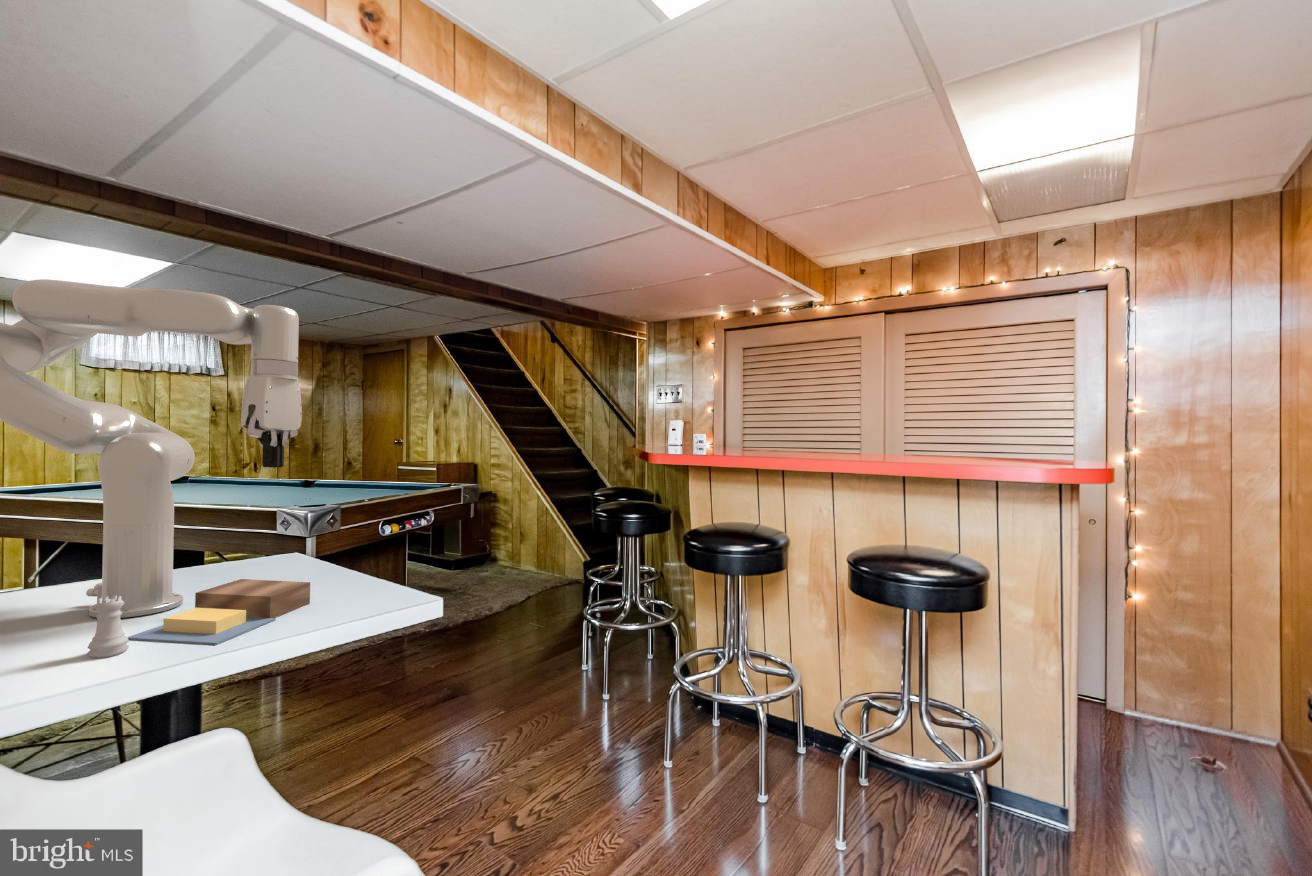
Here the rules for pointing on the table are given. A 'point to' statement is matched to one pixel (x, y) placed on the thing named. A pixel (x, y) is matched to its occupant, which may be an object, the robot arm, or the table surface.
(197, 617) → the yellow kitchen sponge
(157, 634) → the mat
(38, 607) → the table surface
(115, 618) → the rook chess piece
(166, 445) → the robot arm
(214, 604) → the wooden block
